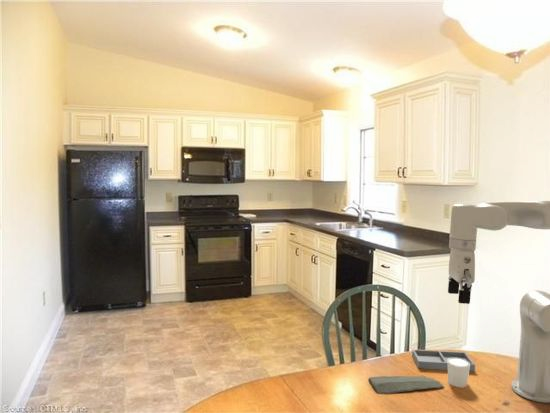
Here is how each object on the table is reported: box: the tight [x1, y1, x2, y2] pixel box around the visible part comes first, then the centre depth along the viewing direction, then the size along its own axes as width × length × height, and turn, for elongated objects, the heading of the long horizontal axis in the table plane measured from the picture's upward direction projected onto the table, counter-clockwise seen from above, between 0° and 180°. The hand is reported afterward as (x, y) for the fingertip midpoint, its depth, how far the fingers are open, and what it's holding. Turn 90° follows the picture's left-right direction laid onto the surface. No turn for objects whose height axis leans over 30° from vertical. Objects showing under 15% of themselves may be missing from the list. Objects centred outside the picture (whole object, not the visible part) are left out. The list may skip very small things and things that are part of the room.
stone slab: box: [368, 375, 445, 395], centre depth 133 cm, size 22×3×10 cm
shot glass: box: [447, 358, 470, 388], centre depth 134 cm, size 7×7×7 cm
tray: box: [411, 348, 476, 373], centre depth 147 cm, size 10×19×2 cm, turn 84°
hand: (458, 298), depth 130 cm, fingers open, 9 cm apart
